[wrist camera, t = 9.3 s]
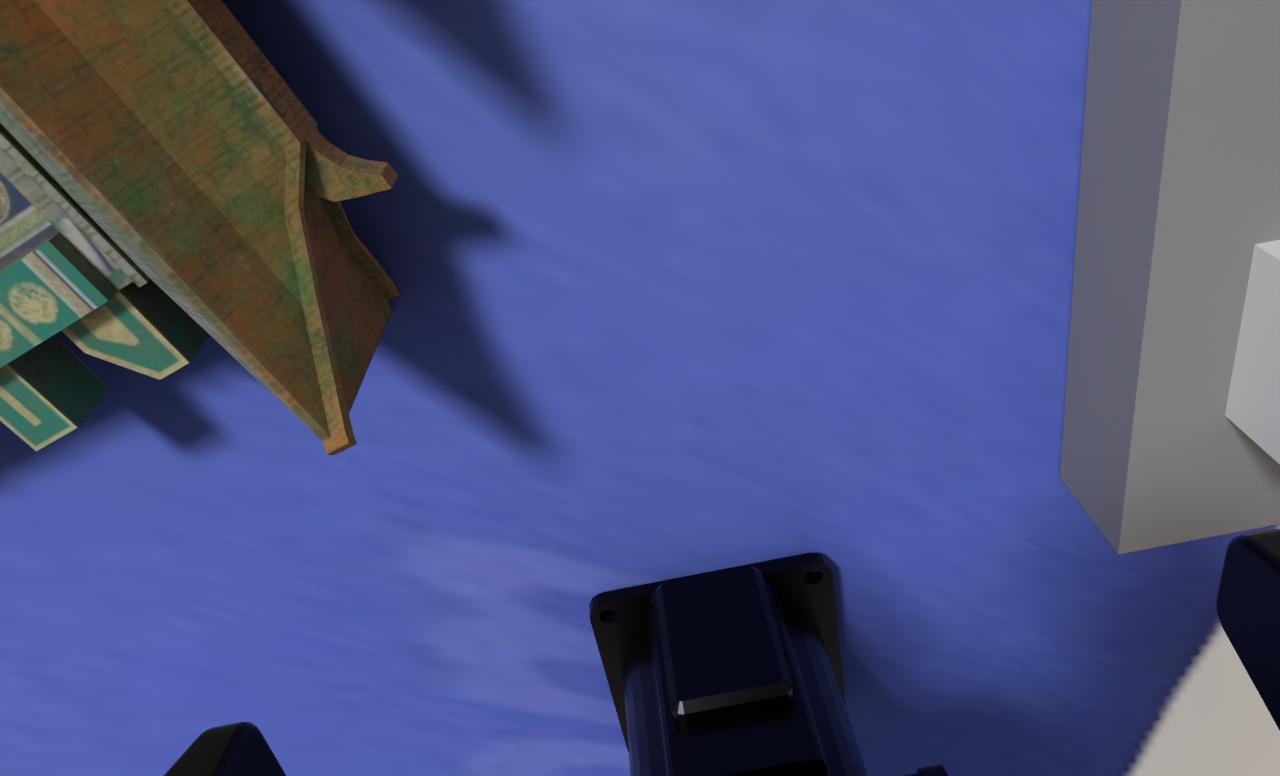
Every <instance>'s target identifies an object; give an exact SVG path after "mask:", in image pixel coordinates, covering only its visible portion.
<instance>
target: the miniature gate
mask: <svg viewBox="0 0 1280 776" xmlns="http://www.w3.org/2000/svg"><path fill="white" fill-rule="evenodd" d="M397 178H398V175H397V173H396V172H395V171H394V169H393V168H392V167H391V165H390V164H389V163H388V162H380V161H372V160H366V159H362V158H358V157H355V156H351V155H348V154H347V153H345V152H344V151H342V150H341V149H339V148H338V147H336V146H334V145H333V144H331V143H330V142H329V141H328V140H327V139H326V138H325V137H323V136H322V135H321V134H320V133H319V132H318V126H317V123H316V121H315V120H314V119H313V117H312V116H311V115H310V114H309V112H308V111H307V110H306V108H305V107H304V106H303V104H302V103H301V102H300V101H299V99H298V98H297V97H296V95H295V94H294V93H293V92H292V90H291V89H290V88H289V86H288V85H287V84H286V83H285V81H284V80H283V79H282V77H281V76H280V75H279V74H278V72H277V71H276V70H275V68H274V67H273V66H272V64H271V63H270V62H269V61H268V59H267V58H266V57H265V55H264V54H263V53H262V52H261V50H260V49H259V48H258V46H257V45H256V44H255V43H254V41H253V40H252V39H251V37H250V36H249V35H248V33H247V32H246V31H245V30H244V28H243V27H242V26H241V24H240V23H239V22H238V21H237V19H236V18H235V17H234V15H233V14H232V13H231V12H230V10H229V9H228V8H227V6H226V5H225V4H224V3H223V1H222V0H0V421H1V422H2V423H3V424H5V425H6V426H7V427H8V428H9V429H10V430H12V431H13V432H14V433H15V434H16V435H17V436H19V437H20V438H21V439H22V440H23V441H24V442H26V443H27V444H28V445H29V446H30V447H31V448H33V449H34V450H35V451H36V452H37V451H38V450H40V449H42V448H44V447H45V446H47V445H49V444H50V443H52V442H54V441H56V440H57V439H59V438H61V437H63V436H64V435H66V434H68V433H69V432H71V431H73V430H75V429H76V428H78V427H79V426H80V424H81V423H82V422H83V421H84V419H85V418H86V417H87V416H88V414H89V413H90V412H91V411H92V410H93V408H94V407H95V406H96V405H97V403H98V402H99V401H100V400H101V399H102V397H103V396H104V395H105V394H106V392H107V391H108V390H109V389H110V387H109V386H108V385H107V384H106V383H105V382H104V381H103V380H102V379H101V378H100V377H98V376H97V375H96V374H95V373H94V372H93V371H92V370H91V369H90V368H89V367H88V366H87V365H86V364H85V363H84V362H83V361H81V360H80V359H79V358H78V357H77V356H76V355H75V354H74V353H73V352H72V351H71V350H70V349H69V348H68V347H67V346H65V345H64V344H63V343H62V342H61V341H60V340H59V339H58V338H57V337H56V336H55V334H56V333H58V332H59V331H62V332H63V333H64V334H65V335H66V336H67V337H68V338H69V339H71V340H72V341H73V342H74V343H75V344H76V345H77V346H78V347H79V348H80V349H81V350H82V351H83V352H84V353H86V354H89V355H91V356H94V357H97V358H100V359H103V360H105V361H108V362H111V363H114V364H117V365H119V366H122V367H125V368H128V369H130V370H133V371H136V372H139V373H142V374H144V375H147V376H150V377H153V378H156V379H158V380H161V379H163V378H164V377H166V376H168V375H169V374H171V373H173V372H175V371H176V370H178V369H180V368H182V367H183V366H185V365H187V364H188V363H190V361H191V360H192V359H193V357H194V356H195V354H196V353H197V352H198V350H199V349H200V348H201V346H202V345H203V343H204V342H205V341H206V339H207V338H208V336H209V335H210V336H212V337H213V338H214V339H215V340H216V341H217V342H218V343H219V344H220V345H221V346H222V347H223V348H224V349H225V350H226V351H227V352H228V353H230V354H231V355H232V356H233V357H234V358H235V359H236V360H237V361H238V362H239V363H240V364H241V365H242V366H243V367H244V368H245V369H246V370H247V371H249V372H250V373H251V374H252V375H253V376H254V377H255V378H256V379H257V380H258V381H259V382H260V383H261V384H262V385H263V386H264V387H265V388H266V389H268V390H269V391H270V392H271V393H272V394H273V395H274V396H275V397H276V398H277V399H278V400H279V401H280V402H281V403H282V404H283V405H284V406H285V407H287V408H288V409H289V410H290V411H291V412H292V413H293V414H294V415H295V416H296V417H297V418H298V419H299V420H300V421H301V422H302V423H303V424H305V425H306V426H307V427H308V428H309V429H310V430H311V431H312V432H313V433H314V434H315V435H316V436H317V437H318V438H319V439H320V440H321V441H322V442H323V445H324V448H325V452H326V455H335V454H337V453H340V452H342V451H344V450H346V449H348V448H349V447H351V446H353V445H355V444H357V443H356V440H355V437H354V434H353V431H352V426H351V422H350V418H349V412H350V410H351V407H352V405H353V403H354V400H355V398H356V395H357V393H358V391H359V388H360V386H361V383H362V381H363V379H364V376H365V374H366V371H367V369H368V367H369V364H370V362H371V359H372V357H373V355H374V352H375V350H376V347H377V345H378V343H379V340H380V338H381V335H382V333H383V331H384V328H385V326H386V323H387V321H388V319H389V316H390V314H391V311H392V309H391V306H390V304H389V302H388V300H390V299H392V298H395V297H397V296H399V295H400V293H399V291H398V290H397V288H396V286H395V284H394V282H393V280H392V279H391V278H390V276H389V275H388V274H387V273H386V272H385V270H384V269H383V268H382V267H381V265H380V264H379V263H378V262H377V260H376V259H375V258H374V257H373V255H372V254H371V253H370V252H369V251H368V249H367V248H366V247H365V246H364V244H363V243H362V242H361V241H360V239H359V238H358V237H357V236H356V235H355V233H354V232H353V230H352V227H351V225H350V223H349V221H348V219H347V216H346V214H345V212H344V210H343V208H342V205H341V203H340V201H342V200H347V199H352V198H356V197H360V196H364V195H368V194H372V193H376V192H380V191H384V190H388V189H392V187H393V185H394V183H395V181H396V180H397Z"/></svg>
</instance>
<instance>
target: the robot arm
mask: <svg viewBox="0 0 1280 776" xmlns="http://www.w3.org/2000/svg"><path fill="white" fill-rule="evenodd" d="M812 570H817V571H816V572H815V573H813V574H806V573H807V572H809V571H812ZM606 609H612V610H614V611H612V612H610V613H609V612H603V611H604V610H606ZM1217 611H1218V616H1219V619H1220V622H1221V625H1222V627H1223V629H1224V631H1225V633H1226V635H1227V636H1228V638H1229V640H1230V642H1231V643H1232V645H1233V647H1234V649H1235V651H1236V652H1237V654H1238V656H1239V658H1240V659H1241V662H1242V663H1243V665H1244V667H1245V669H1246V670H1247V672H1248V674H1249V676H1250V678H1251V679H1252V681H1253V683H1254V685H1255V687H1256V688H1257V690H1258V692H1259V694H1260V696H1261V697H1262V699H1263V701H1264V703H1265V705H1266V707H1267V708H1268V710H1269V712H1270V714H1271V716H1272V717H1273V719H1274V721H1275V722H1276V725H1277V726H1278V728H1279V730H1280V529H1270V530H1264V531H1259V532H1254V533H1248V534H1243V535H1239V536H1236V537H1234V538H1233V539H1232V540H1231V542H1230V543H1229V544H1228V547H1227V551H1226V556H1225V561H1224V566H1223V571H1222V576H1221V581H1220V586H1219V591H1218V596H1217ZM590 621H591V624H592V628H593V631H594V635H595V638H596V642H597V645H598V649H599V652H600V656H601V659H602V662H603V666H604V669H605V673H606V676H607V680H608V683H609V687H610V690H611V694H612V697H613V701H614V704H615V708H616V711H617V715H618V718H619V721H620V725H621V728H622V732H623V735H624V739H625V742H626V746H627V749H628V752H629V759H630V771H631V776H868V775H867V772H866V769H865V766H864V763H863V760H862V757H861V754H860V751H859V748H858V745H857V742H856V739H855V736H854V733H853V729H852V726H851V723H850V720H849V717H848V714H847V711H846V708H845V701H844V691H843V681H842V670H841V660H840V650H839V640H838V630H837V619H836V609H835V599H834V589H833V578H832V572H831V570H830V567H829V564H828V562H827V559H826V558H825V557H824V556H823V555H821V554H817V553H807V554H802V555H796V556H791V557H786V558H781V559H775V560H770V561H765V562H760V563H754V564H749V565H744V566H739V567H733V568H728V569H723V570H718V571H712V572H707V573H702V574H697V575H692V576H686V577H681V578H676V579H671V580H665V581H660V582H655V583H650V584H644V585H639V586H634V587H629V588H623V589H618V590H613V591H608V592H603V593H600V594H598V595H596V596H595V597H594V598H593V599H592V600H591V602H590ZM164 776H286V775H285V773H284V771H283V769H282V767H281V766H280V764H279V762H278V761H277V759H276V757H275V756H274V754H273V752H272V750H271V749H270V747H269V745H268V744H267V742H266V740H265V739H264V737H263V735H262V734H261V732H260V730H259V729H258V728H257V726H255V725H254V724H252V723H250V722H240V723H235V724H230V725H224V726H219V727H214V728H211V729H208V730H206V731H205V732H203V733H202V734H201V735H200V736H199V737H198V738H197V739H196V740H195V741H194V742H193V743H192V744H191V746H190V747H189V748H188V749H187V750H186V751H185V752H184V753H183V755H182V756H181V757H180V758H179V759H178V760H177V761H176V762H175V764H174V765H173V766H172V767H171V768H170V769H169V770H168V771H167V773H166V774H165V775H164ZM904 776H948V774H947V773H946V771H945V769H944V767H943V766H942V764H941V765H935V766H930V767H924V768H919V769H918V770H917V773H915V774H909V775H904Z"/></svg>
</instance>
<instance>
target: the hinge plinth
mask: <svg viewBox="0 0 1280 776" xmlns="http://www.w3.org/2000/svg"><path fill="white" fill-rule="evenodd" d="M1060 479H1061V480H1062V482H1063V483H1064V484H1065V486H1066V487H1067V488H1068V490H1069V491H1070V492H1071V493H1072V495H1073V496H1074V497H1075V499H1076V500H1077V501H1078V503H1079V504H1080V505H1081V507H1082V508H1083V509H1084V511H1085V512H1086V513H1087V514H1088V516H1089V517H1090V518H1091V520H1092V521H1093V522H1094V524H1095V525H1096V526H1097V528H1098V529H1099V530H1100V532H1101V533H1102V534H1103V535H1104V537H1105V538H1106V539H1107V541H1108V542H1109V543H1110V545H1111V546H1112V547H1113V549H1114V550H1115V551H1116V553H1117V554H1118V555H1119V554H1124V553H1129V552H1134V551H1140V550H1145V549H1150V548H1156V547H1161V546H1166V545H1171V544H1177V543H1182V542H1187V541H1192V540H1198V539H1203V538H1208V537H1214V536H1219V535H1224V534H1229V533H1235V532H1240V531H1245V530H1251V529H1256V528H1261V527H1266V526H1272V525H1277V524H1280V0H1092V5H1091V20H1090V35H1089V49H1088V64H1087V79H1086V94H1085V109H1084V124H1083V138H1082V153H1081V168H1080V183H1079V198H1078V213H1077V227H1076V242H1075V257H1074V272H1073V287H1072V302H1071V316H1070V331H1069V346H1068V361H1067V376H1066V391H1065V405H1064V420H1063V435H1062V450H1061V465H1060Z"/></svg>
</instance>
